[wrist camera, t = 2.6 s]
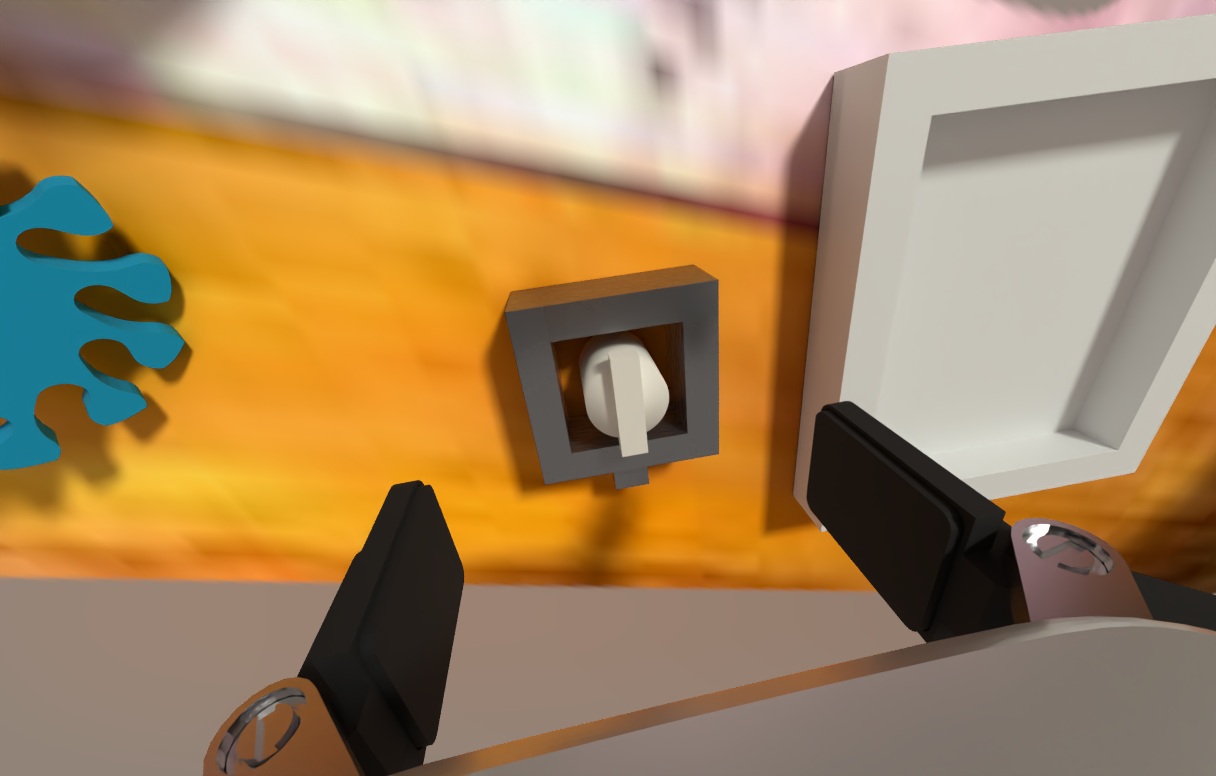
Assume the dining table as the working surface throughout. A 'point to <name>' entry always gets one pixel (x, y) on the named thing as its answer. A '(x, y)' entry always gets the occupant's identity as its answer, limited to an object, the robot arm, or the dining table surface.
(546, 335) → the grey square frame
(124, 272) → the blue virus model
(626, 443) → the white rounded knob
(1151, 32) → the tray
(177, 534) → the dining table surface
